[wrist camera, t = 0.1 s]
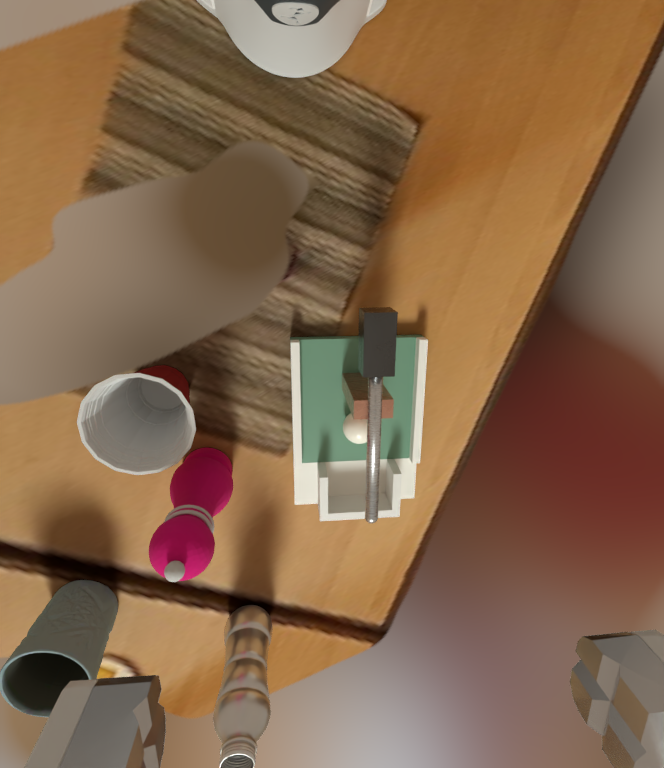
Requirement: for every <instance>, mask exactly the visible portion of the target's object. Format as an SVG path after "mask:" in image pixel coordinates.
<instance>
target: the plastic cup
mask: <svg viewBox="0 0 664 768" xmlns="http://www.w3.org/2000/svg"><path fill="white" fill-rule="evenodd" d="M189 393H190V392H189V385H188V382H187V380H186V378H185V377H184V375H183V374H182V373H181V372H179V371H178V370H177V369H175V368H173V367H169V366H166V365H160V366H153V367H150V368H145V369H143V370H140V371H137V372H135V373H131V374H120V375H114V376H112V377H110V378H108V379H106V380H104V381H103V382H101V383H99V384H97V385H95V386H94V387H93V388H92V389H91V391H90V392H89V393H88V394H87V396H86V397H85V398H84V399H83V400H82V402H81V405H80V410H79V414H78V419H77V425H78V429H79V432H80V436H81V440H82V443H83V444H84V445H85V447H86V448H87V449H88V450H89V452H90V453H91V454H92V455H93V457H94V458H95V459H96V460H98V461H100V462H101V463H103V464H105V465H106V466H108V467H110V468H111V469H113V470H115V471H119V472H124V473H129V474H134V475H142V474H150V473H159V472H161V471H163V470H165V469H167V468H169V467H171V466H173V465H175V464H177V463H178V462H179V461H180V460H181V459H182V458H183V456H184V455H185V454H186V453H187V452H188V451H189V450H190V448H191V446H192V442H193V439H194V435H195V432H196V425H195V419H194V413H193V409H192V408H191V406H190V399H189Z"/></svg>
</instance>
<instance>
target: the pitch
mask: <svg viewBox="0 0 664 768" xmlns="http://www.w3.org/2000/svg"><path fill="white" fill-rule="evenodd" d="M358 344H359V336H328V337H290V348H291V384H292V421H293V458H294V494H295V505H300V504H318V509H319V517H320V521H333V520H350V519H365V492H366V454H367V442H366V443H363V444H356V443H353V442H351V441H349V440H348V439H347V438H346V436H345V434H344V432H343V422H344V420H345V418H346V417H347V416H348V415H349V414H350V413H351V411H350V409H349V406H348V404H347V401H346V398H345V396H344V393H343V391H342V373H360V371H359V369H358ZM427 348H428V339H426V338H425V337H423V336H422V335H397V337H396V360H395V376H394V377H383V384H384V386H385V387H386V389H387V390H388V392H389V393H390V395H391V396H392V398H393V399H394V407H393V418H383V419H382V420H381V448H380V476H379V504H378V518H384V517H400V499H408V498H414V494H415V478H416V463H420V456H421V441H422V425H423V410H424V394H425V379H426V364H427Z"/></svg>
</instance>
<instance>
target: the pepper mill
mask: <svg viewBox="0 0 664 768" xmlns="http://www.w3.org/2000/svg"><path fill="white" fill-rule="evenodd" d="M232 491H233V479H232V464H231V462H230V460H229V458H228V457H227V456H226V455H225V454H224V453H223V452H221V451H220V450H217V449H214V448H200V449H197V450H194V451H193V452H191V453H190V454H189V455H188V456H187V457H186V459H185V460H184V463H183V464H182V465H181V466H179V467H178V469H177V470H176V471H175V473H174V475H173V477H172V481H171V485H170V496H171V500H172V503H173V505H174V509H173V510H172V511H171V512H169V514H168V515H167V517H166V519H165V522H164V523H163V524H162V525H160V526H159V527H158V529H157V530H156V531H155V533H154V534H153V536H152V539H151V541H150V545H149V557H150V562H151V564H152V566H153V568H154V569H155V570H156V571H157V572H158V573H159V574H160V575H161V576H163V577H164V578H166V579H167V580H168V581H170V582H176V581H185V580H188V579H192V578H194V577H195V576H197V575H199V574H200V573H201V572H203V571H204V570H205V568H206V567H207V566H208V564H209V563H210V561H211V559H212V557H213V554H214V546H215V542H214V537H213V531H214V521H213V519H212V518H213V516H215V515H216V514H218V513H219V512H220V511H221V510H222V509H223V508H224V507H225V506H226V505H227V503H228V502H229V500H230V497H231V494H232Z"/></svg>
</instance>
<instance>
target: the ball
mask: <svg viewBox="0 0 664 768" xmlns="http://www.w3.org/2000/svg"><path fill="white" fill-rule="evenodd" d="M343 432H344V434H345V436H346V438H347V439H348V440H349V441H351V442H353V443H356V444H363V443H366V442H367V419H356V420H354V419H353V416H352V414H351V413H350V414H349V415H348V416H347V417H346V418H345V420H344V422H343Z"/></svg>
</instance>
